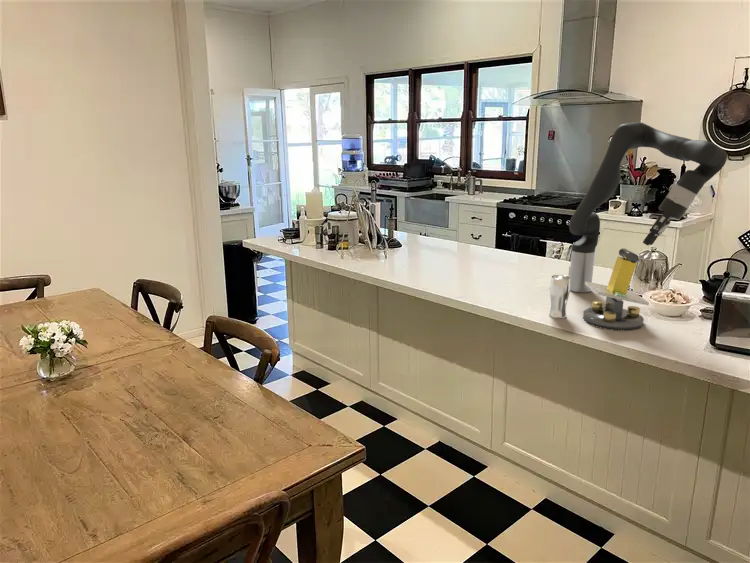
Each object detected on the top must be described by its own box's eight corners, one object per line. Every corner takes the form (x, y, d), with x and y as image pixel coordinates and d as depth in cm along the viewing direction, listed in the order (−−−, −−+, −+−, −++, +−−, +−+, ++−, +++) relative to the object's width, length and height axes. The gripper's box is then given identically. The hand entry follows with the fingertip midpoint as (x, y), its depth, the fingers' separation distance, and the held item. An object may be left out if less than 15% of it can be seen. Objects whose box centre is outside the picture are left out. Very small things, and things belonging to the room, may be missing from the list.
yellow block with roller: (584, 283, 202) (597, 242, 198) (632, 293, 203) (646, 252, 198) (597, 294, 189) (612, 250, 185) (648, 305, 189) (664, 261, 185)
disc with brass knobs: (575, 311, 209) (578, 287, 206) (629, 312, 208) (632, 287, 205) (593, 330, 189) (596, 303, 187) (652, 330, 188) (656, 304, 186)
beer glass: (544, 313, 207) (547, 274, 203) (562, 312, 208) (566, 274, 204) (552, 319, 200) (555, 279, 196) (570, 318, 201) (574, 279, 197)
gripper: (668, 197, 187) (639, 238, 192) (664, 194, 175) (633, 238, 180) (689, 208, 184) (659, 249, 189) (687, 206, 172) (655, 250, 177)
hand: (646, 244), depth 185 cm, fingers open, 8 cm apart
